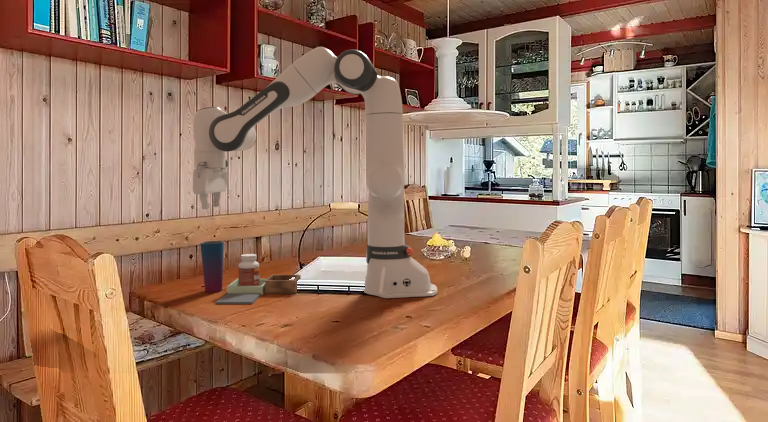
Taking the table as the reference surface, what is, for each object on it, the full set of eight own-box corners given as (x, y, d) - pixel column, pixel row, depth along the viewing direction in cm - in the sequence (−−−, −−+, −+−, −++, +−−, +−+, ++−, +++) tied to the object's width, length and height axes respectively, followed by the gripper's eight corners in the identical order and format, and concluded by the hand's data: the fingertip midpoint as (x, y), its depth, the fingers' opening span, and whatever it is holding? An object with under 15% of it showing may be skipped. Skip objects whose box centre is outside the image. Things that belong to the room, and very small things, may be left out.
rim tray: (270, 286, 169) (270, 278, 169) (262, 294, 158) (262, 286, 158) (237, 286, 169) (237, 279, 169) (227, 294, 158) (226, 286, 158)
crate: (300, 287, 168) (300, 274, 168) (295, 294, 159) (295, 280, 159) (272, 287, 168) (271, 274, 168) (265, 294, 159) (265, 280, 159)
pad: (260, 295, 158) (260, 293, 158) (252, 304, 148) (252, 301, 148) (227, 295, 158) (227, 293, 158) (216, 304, 148) (216, 301, 148)
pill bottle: (258, 292, 161) (257, 256, 160) (237, 293, 160) (236, 256, 159) (261, 288, 167) (260, 253, 166) (241, 288, 166) (240, 253, 166)
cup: (218, 293, 160) (216, 244, 158) (197, 292, 161) (195, 243, 160) (229, 288, 166) (227, 240, 165) (209, 287, 168) (207, 240, 166)
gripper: (208, 161, 150) (209, 210, 151) (230, 162, 170) (231, 205, 172) (186, 161, 150) (187, 210, 151) (210, 162, 171) (211, 205, 172)
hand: (211, 208), depth 162 cm, fingers open, 8 cm apart
